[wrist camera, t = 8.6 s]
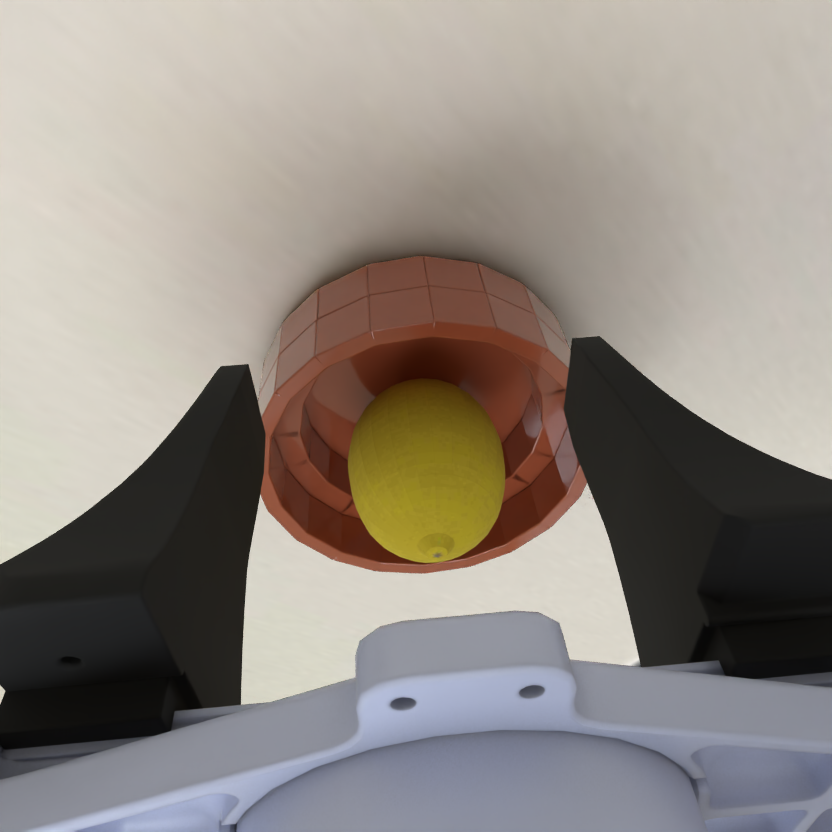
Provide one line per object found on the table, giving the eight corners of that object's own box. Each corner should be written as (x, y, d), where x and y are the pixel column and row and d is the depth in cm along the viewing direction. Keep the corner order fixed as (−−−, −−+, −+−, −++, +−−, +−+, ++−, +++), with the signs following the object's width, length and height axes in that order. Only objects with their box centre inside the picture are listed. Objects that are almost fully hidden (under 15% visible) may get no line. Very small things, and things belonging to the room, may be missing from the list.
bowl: (630, 326, 27) (671, 402, 24) (469, 519, 34) (483, 599, 31) (341, 191, 23) (340, 260, 19) (221, 443, 30) (205, 527, 26)
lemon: (339, 439, 29) (337, 602, 23) (359, 328, 26) (364, 486, 20) (467, 451, 30) (497, 611, 24) (503, 347, 27) (549, 503, 21)
